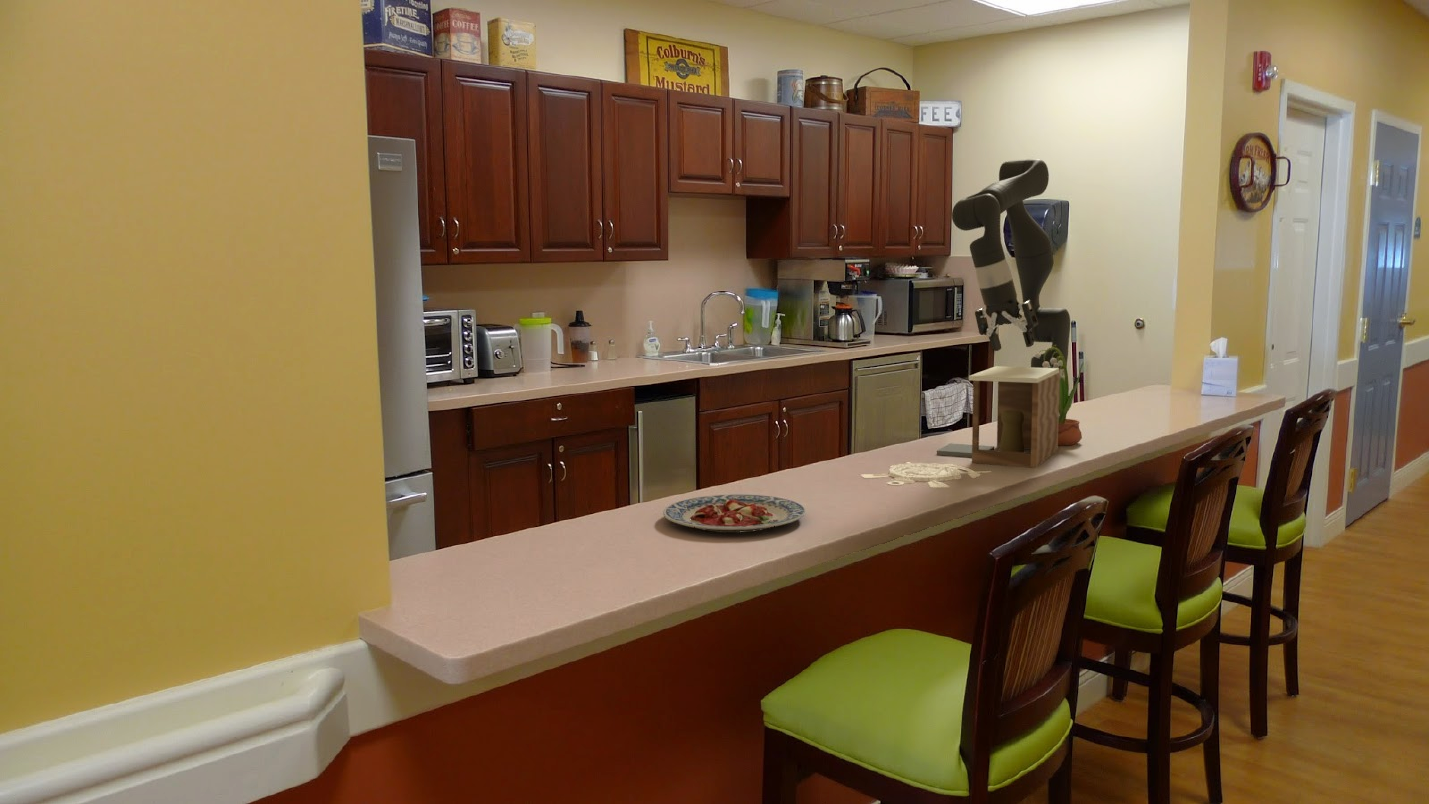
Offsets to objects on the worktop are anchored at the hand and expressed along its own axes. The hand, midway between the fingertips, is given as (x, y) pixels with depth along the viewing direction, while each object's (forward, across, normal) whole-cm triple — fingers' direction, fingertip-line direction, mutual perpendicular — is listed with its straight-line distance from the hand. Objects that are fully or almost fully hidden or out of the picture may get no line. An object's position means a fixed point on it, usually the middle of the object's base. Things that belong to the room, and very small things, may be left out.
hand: (1013, 348), depth 237 cm
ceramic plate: (+1, +6, +90) cm, 91 cm away
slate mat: (+22, +15, +8) cm, 28 cm away
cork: (+25, +5, +6) cm, 26 cm away
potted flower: (+31, +6, -16) cm, 36 cm away
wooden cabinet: (+25, +4, +5) cm, 26 cm away
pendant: (+17, +7, +36) cm, 40 cm away
